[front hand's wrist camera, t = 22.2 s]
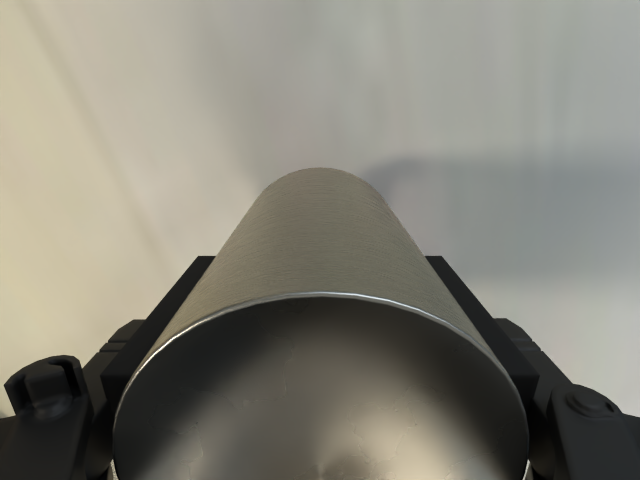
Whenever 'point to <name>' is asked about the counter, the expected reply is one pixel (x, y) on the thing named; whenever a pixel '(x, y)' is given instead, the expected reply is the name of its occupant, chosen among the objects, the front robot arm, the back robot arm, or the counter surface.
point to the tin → (320, 358)
